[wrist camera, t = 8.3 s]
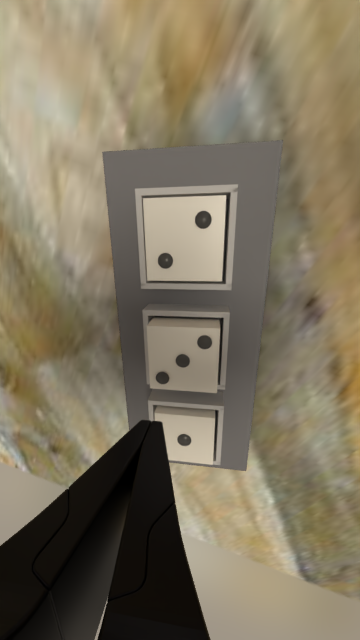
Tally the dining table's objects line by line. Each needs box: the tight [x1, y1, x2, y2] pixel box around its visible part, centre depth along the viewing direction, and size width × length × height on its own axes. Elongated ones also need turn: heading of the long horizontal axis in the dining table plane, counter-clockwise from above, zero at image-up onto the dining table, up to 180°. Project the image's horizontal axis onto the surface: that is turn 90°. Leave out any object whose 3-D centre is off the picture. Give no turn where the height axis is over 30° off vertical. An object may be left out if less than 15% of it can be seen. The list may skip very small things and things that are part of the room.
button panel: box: [102, 140, 283, 471], centre depth 19 cm, size 12×28×4 cm, turn 1°
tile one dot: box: [155, 405, 215, 465], centre depth 20 cm, size 5×5×2 cm
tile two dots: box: [143, 195, 226, 281], centre depth 15 cm, size 5×5×2 cm
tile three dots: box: [147, 317, 220, 393], centre depth 17 cm, size 5×5×2 cm
